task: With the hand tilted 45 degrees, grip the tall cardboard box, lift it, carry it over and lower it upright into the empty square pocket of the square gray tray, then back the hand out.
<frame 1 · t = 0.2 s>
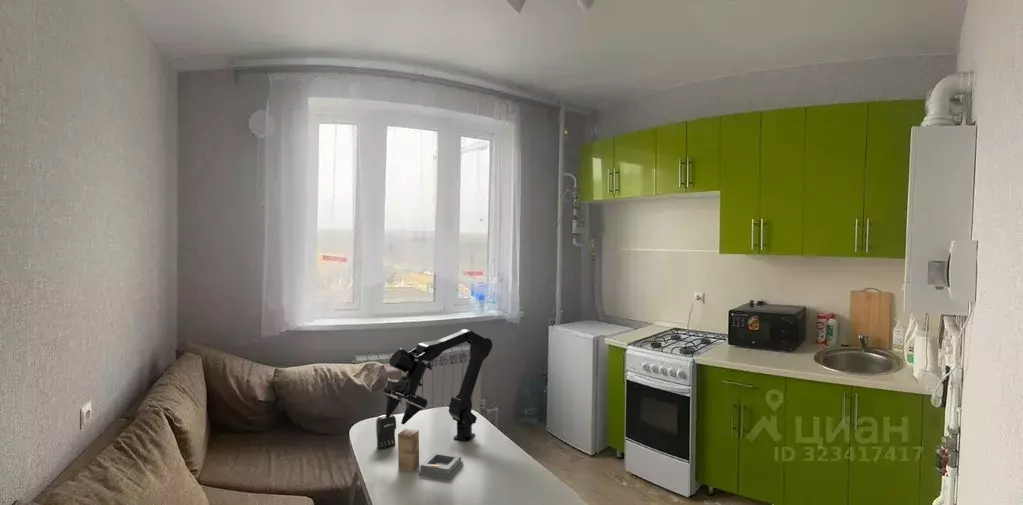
hand: (394, 420, 171), 14 cm above the table, tool tilted 30°, fingers open, 9 cm apart
square gray tray: (441, 469, 167), on the table
tall cardboard box: (408, 467, 169), on the table
battery charger: (386, 447, 185), on the table
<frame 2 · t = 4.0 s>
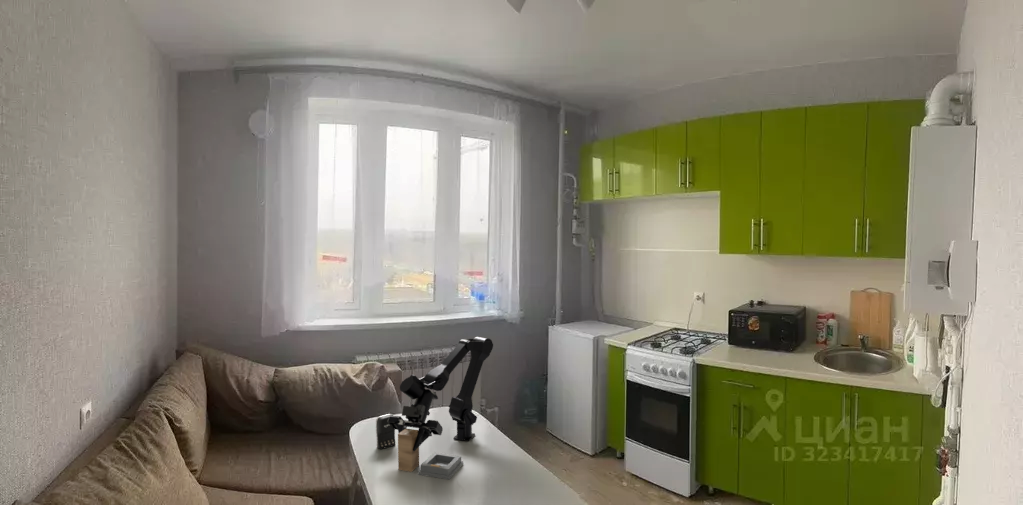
hand: (406, 449, 167), 7 cm above the table, tool tilted 45°, fingers closed on tall cardboard box, 5 cm apart
tall cardboard box: (408, 467, 169), on the table, touching gripper
everything else where it was.
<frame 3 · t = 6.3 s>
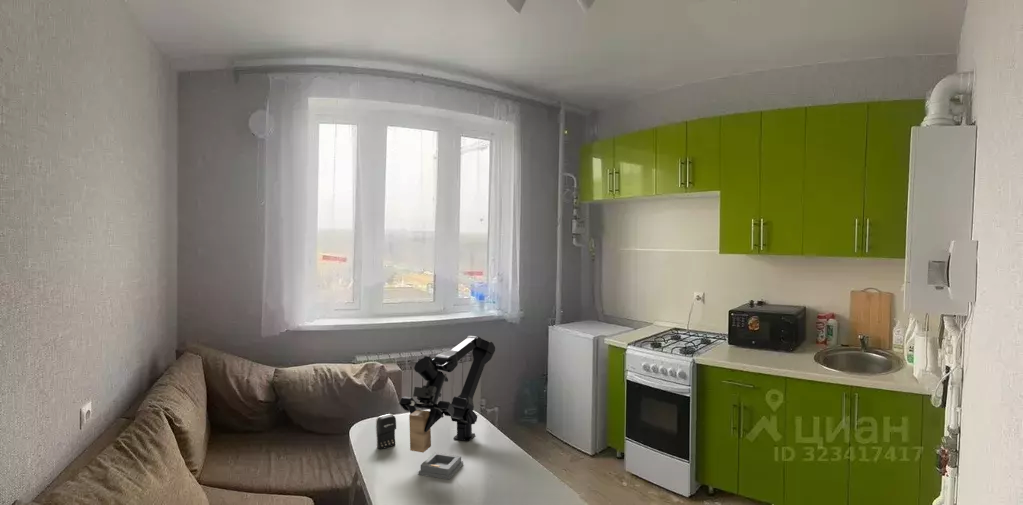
hand: (418, 430, 166), 13 cm above the table, tool tilted 45°, fingers closed on tall cardboard box, 5 cm apart
tall cardboard box: (420, 448, 168), point 7 cm above the table, touching gripper
everything else where it was.
when the fingers open (9 cm above the table, at t = 8.6 s): tall cardboard box drops 1 cm, resting on square gray tray.
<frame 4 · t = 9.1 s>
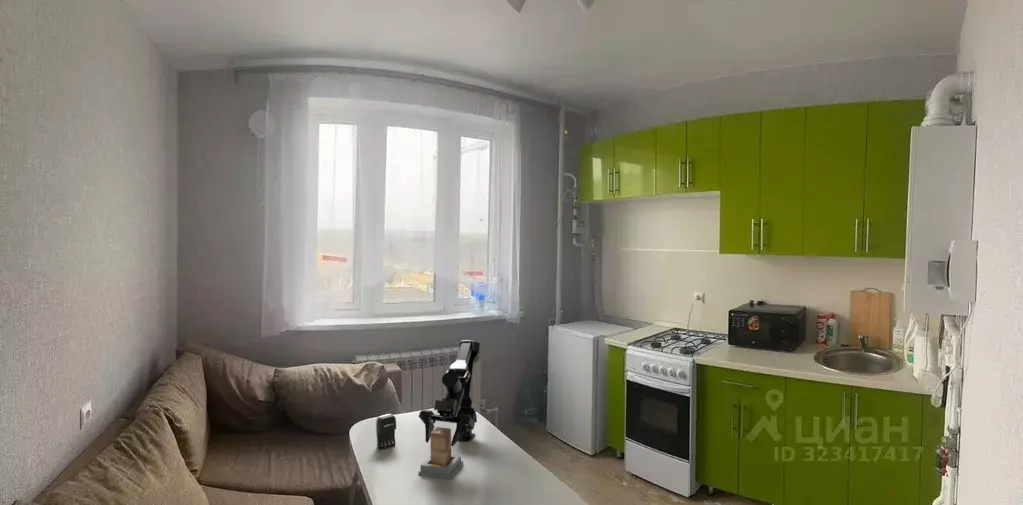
hand: (439, 444, 165), 9 cm above the table, tool tilted 45°, fingers open, 9 cm apart
tall cardboard box: (441, 466, 167), point 1 cm above the table, touching square gray tray
everything else where it was.
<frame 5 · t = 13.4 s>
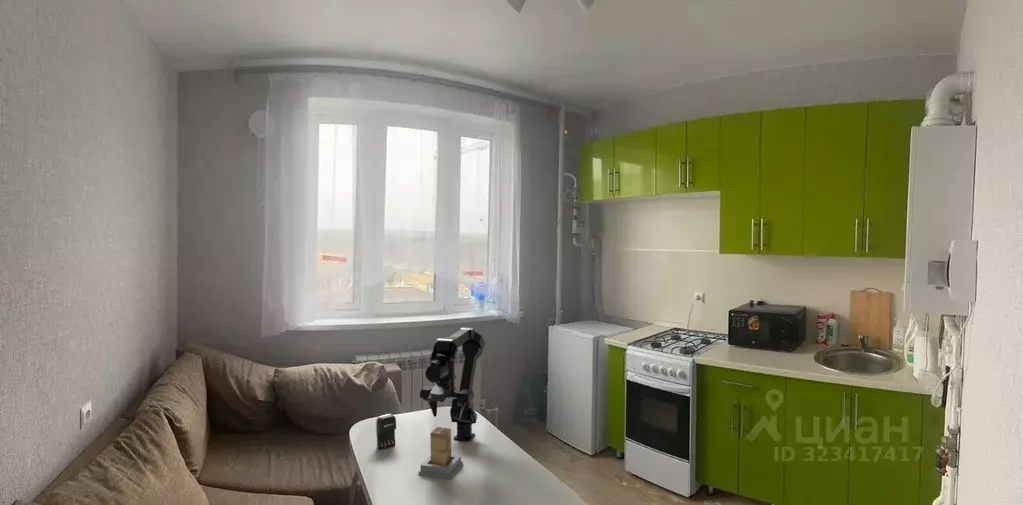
hand: (446, 417, 178), 13 cm above the table, tool pointing down, fingers open, 9 cm apart
nothing on the table moved.
at the end: tall cardboard box 0.0 cm off-centre on the square gray tray, point 1.0 cm above the square gray tray's base; tall cardboard box tilted 0°; the gripper is holding nothing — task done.
